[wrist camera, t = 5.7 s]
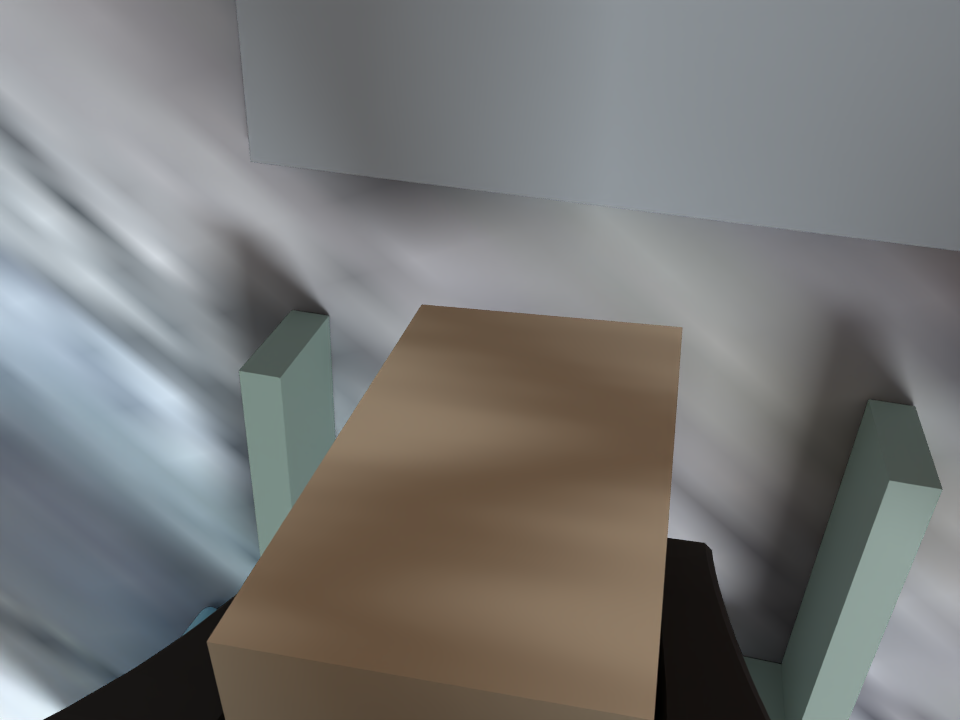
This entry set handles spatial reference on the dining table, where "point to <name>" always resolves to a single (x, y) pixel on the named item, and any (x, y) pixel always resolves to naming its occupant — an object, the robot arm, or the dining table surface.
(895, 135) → the rubber mat
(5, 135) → the dining table surface
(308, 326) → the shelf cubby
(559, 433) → the block
